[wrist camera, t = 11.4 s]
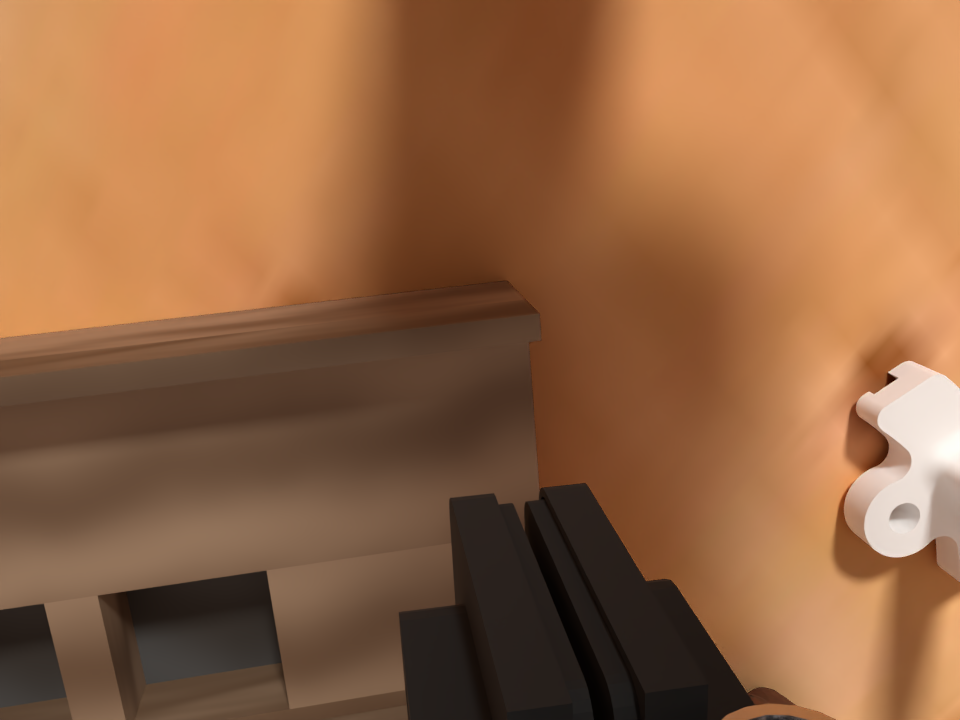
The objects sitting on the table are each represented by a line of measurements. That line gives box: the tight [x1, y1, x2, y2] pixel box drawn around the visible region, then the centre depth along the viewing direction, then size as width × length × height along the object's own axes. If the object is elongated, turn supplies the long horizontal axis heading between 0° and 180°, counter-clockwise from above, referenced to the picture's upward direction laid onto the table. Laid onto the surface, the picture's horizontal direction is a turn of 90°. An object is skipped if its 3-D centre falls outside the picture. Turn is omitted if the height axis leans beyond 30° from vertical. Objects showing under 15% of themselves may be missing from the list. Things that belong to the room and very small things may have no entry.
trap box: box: [0, 281, 541, 720], centre depth 36 cm, size 18×36×6 cm, turn 95°
